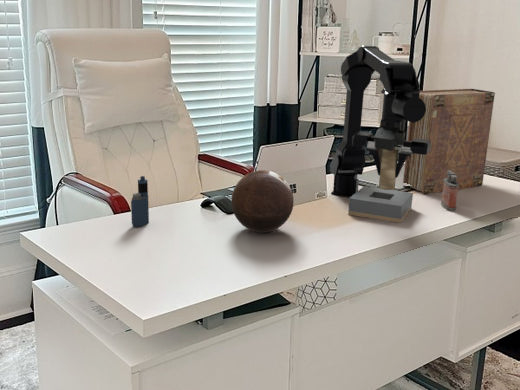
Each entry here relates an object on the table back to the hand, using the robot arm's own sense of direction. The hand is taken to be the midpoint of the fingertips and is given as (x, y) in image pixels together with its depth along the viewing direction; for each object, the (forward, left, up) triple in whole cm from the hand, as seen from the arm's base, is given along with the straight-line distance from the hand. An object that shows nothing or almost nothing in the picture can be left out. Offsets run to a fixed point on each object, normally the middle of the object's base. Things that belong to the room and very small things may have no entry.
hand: (387, 176), depth 155 cm
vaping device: (-53, -32, -13) cm, 63 cm away
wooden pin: (0, 0, -3) cm, 3 cm away
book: (+8, +45, -13) cm, 48 cm away
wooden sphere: (-25, -21, -13) cm, 35 cm away
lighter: (+13, +23, -13) cm, 30 cm away
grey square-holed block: (-3, +9, -13) cm, 16 cm away
